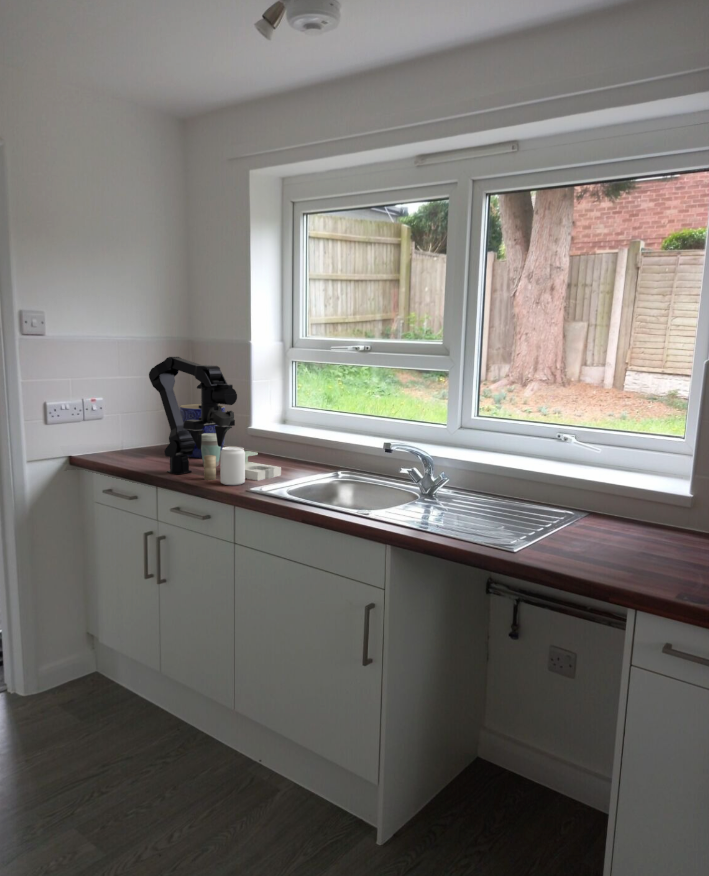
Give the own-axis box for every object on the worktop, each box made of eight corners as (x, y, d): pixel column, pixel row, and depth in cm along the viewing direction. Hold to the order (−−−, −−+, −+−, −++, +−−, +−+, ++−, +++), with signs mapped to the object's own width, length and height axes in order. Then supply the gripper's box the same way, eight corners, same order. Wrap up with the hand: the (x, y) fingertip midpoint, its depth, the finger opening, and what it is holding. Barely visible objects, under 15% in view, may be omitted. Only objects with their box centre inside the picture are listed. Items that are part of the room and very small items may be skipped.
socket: (225, 474, 245) (225, 466, 244) (248, 469, 254) (248, 461, 254) (259, 480, 235) (259, 472, 235) (282, 475, 245) (282, 467, 244)
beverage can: (239, 486, 225) (239, 450, 223) (216, 485, 227) (216, 449, 225) (248, 481, 233) (248, 447, 231) (226, 480, 235) (225, 445, 233)
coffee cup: (198, 463, 263) (198, 433, 261) (221, 463, 265) (221, 432, 264) (200, 468, 255) (199, 436, 253) (223, 467, 257) (223, 435, 256)
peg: (201, 479, 236) (201, 456, 235) (210, 477, 239) (210, 454, 238) (209, 480, 233) (209, 457, 232) (218, 478, 237) (218, 456, 235)
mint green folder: (225, 472, 247) (225, 453, 246) (244, 468, 255) (244, 450, 254) (238, 475, 244) (238, 455, 243) (257, 471, 252) (257, 452, 251)
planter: (174, 453, 284) (174, 404, 281) (218, 451, 292) (218, 403, 289) (185, 461, 268) (184, 408, 265) (230, 458, 276) (230, 407, 273)
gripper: (205, 406, 220) (205, 454, 222) (246, 403, 235) (245, 447, 238) (182, 403, 227) (182, 450, 229) (223, 400, 242) (223, 444, 244)
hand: (209, 447), depth 235 cm, fingers open, 9 cm apart
